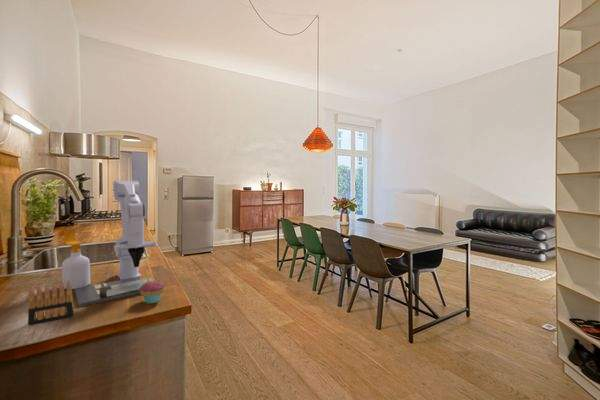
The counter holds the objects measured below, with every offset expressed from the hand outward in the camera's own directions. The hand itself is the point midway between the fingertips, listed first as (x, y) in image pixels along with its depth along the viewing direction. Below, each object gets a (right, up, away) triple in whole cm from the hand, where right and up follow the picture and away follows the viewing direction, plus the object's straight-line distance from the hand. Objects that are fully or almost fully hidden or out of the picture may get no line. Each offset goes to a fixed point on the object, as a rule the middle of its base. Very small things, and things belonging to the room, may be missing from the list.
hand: (136, 266), depth 115 cm
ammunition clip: (-12, -11, -25) cm, 30 cm away
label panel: (-8, -9, -2) cm, 13 cm away
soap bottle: (-26, -9, +3) cm, 28 cm away
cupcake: (+12, -11, -10) cm, 19 cm away
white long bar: (-1, -8, -5) cm, 10 cm away
